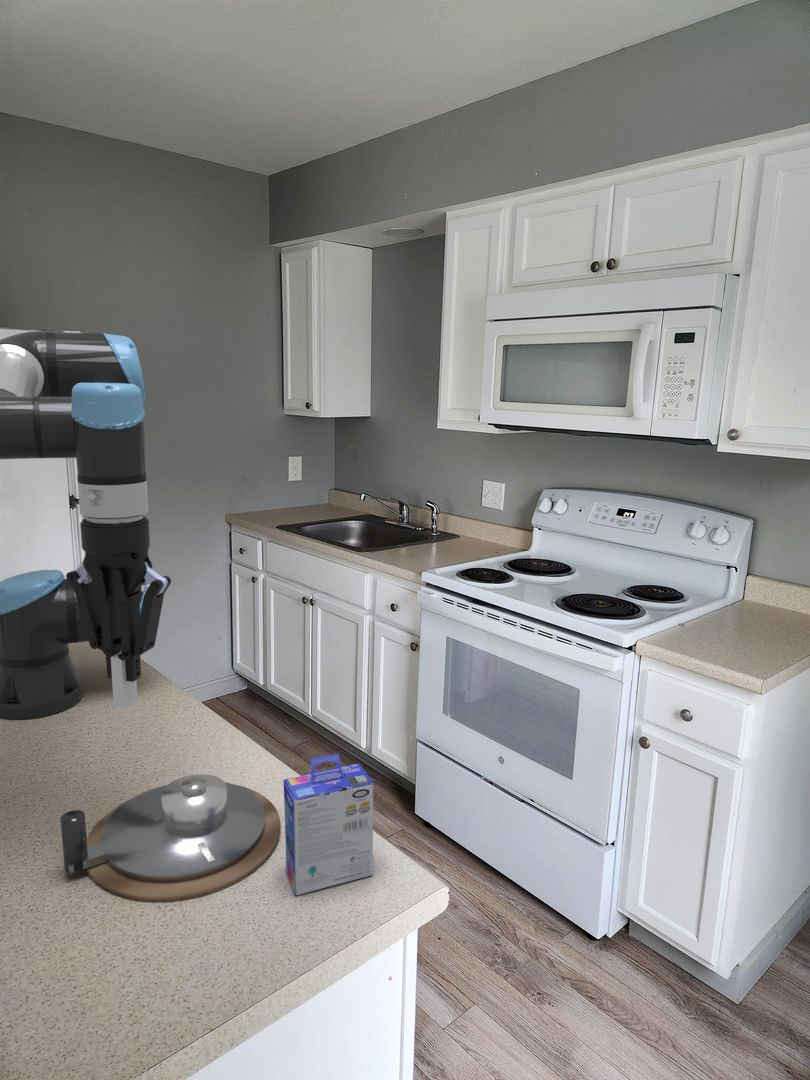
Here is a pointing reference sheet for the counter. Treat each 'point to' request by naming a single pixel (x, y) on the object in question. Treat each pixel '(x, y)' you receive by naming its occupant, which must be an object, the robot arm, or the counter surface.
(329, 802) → the ink cartridge box
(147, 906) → the counter surface
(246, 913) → the counter surface
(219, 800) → the cover
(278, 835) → the base
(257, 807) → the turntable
